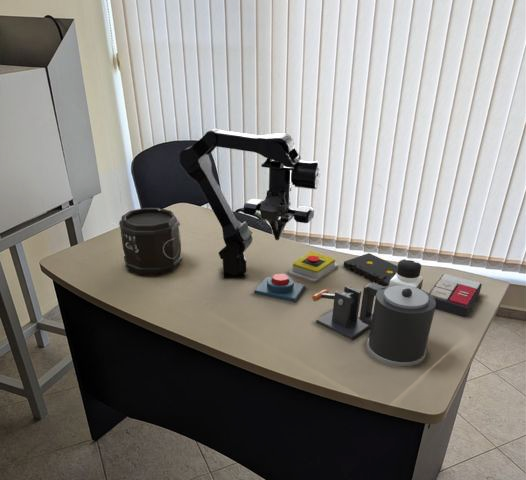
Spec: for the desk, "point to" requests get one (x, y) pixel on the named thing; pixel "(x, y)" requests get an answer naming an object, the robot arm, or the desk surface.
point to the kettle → (397, 322)
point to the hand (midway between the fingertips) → (277, 239)
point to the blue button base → (280, 289)
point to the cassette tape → (372, 268)
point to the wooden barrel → (151, 241)
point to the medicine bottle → (408, 274)
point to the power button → (280, 279)
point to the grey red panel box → (455, 294)
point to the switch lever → (331, 295)
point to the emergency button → (313, 266)
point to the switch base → (344, 315)
